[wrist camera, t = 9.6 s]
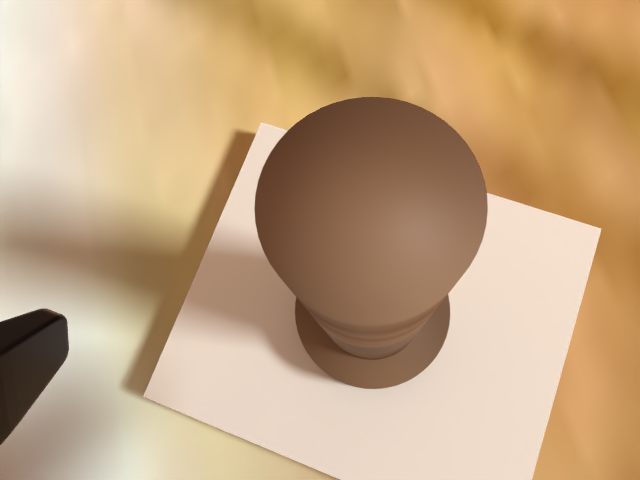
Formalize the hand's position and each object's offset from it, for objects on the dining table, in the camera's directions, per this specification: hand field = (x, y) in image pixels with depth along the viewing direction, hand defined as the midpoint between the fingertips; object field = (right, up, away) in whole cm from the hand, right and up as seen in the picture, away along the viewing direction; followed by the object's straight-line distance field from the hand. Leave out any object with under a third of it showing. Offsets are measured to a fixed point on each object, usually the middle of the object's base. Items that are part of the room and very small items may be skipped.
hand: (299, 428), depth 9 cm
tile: (+2, 0, +12) cm, 12 cm away
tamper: (+2, 0, +11) cm, 11 cm away
